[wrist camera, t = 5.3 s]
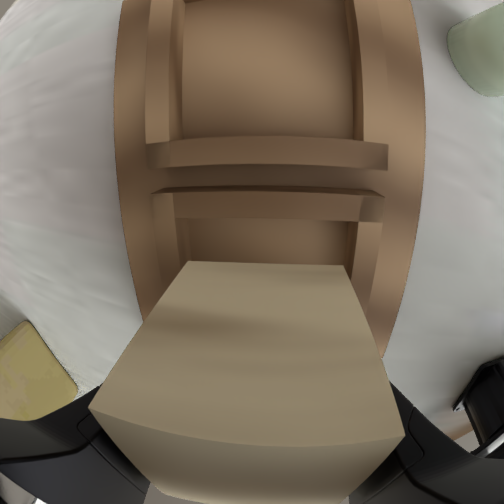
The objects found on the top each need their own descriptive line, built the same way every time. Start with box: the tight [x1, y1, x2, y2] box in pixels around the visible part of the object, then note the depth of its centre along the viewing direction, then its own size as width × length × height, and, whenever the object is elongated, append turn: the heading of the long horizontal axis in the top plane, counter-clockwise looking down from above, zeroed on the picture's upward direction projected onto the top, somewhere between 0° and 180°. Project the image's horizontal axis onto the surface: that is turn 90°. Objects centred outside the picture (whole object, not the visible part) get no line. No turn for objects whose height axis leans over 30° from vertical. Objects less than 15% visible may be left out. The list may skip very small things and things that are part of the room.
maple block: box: [88, 261, 405, 504], centre depth 7 cm, size 5×5×6 cm
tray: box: [114, 0, 426, 358], centre depth 11 cm, size 20×14×3 cm
